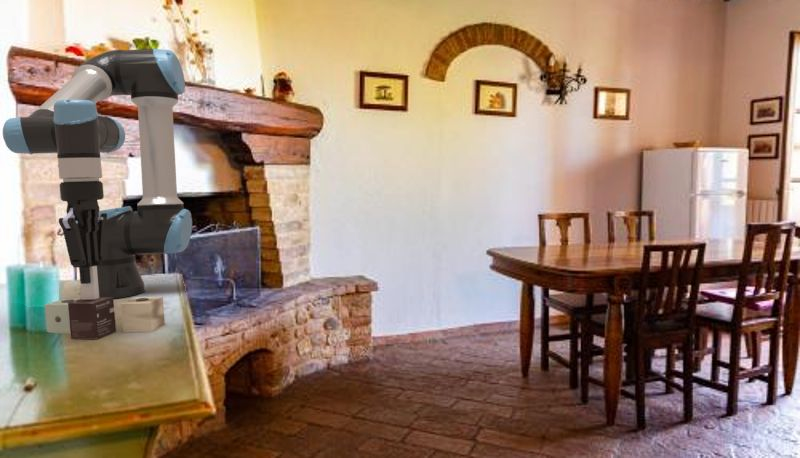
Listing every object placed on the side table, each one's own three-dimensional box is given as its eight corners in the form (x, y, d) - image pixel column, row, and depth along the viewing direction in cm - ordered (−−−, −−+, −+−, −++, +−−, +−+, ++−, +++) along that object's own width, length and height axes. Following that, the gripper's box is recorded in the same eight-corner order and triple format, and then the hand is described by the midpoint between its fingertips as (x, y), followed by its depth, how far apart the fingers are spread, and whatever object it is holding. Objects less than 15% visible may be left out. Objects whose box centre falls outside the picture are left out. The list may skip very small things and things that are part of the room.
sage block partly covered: (69, 325, 130) (66, 297, 130) (92, 326, 129) (90, 297, 128) (46, 333, 124) (43, 303, 124) (71, 334, 123) (68, 304, 122)
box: (96, 340, 118) (93, 303, 117) (69, 339, 119) (66, 302, 118) (117, 331, 124) (114, 296, 123) (91, 331, 125) (88, 296, 124)
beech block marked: (137, 324, 129) (135, 296, 128) (164, 324, 128) (162, 295, 128) (123, 332, 123) (120, 302, 122) (151, 332, 123) (149, 302, 122)
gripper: (81, 180, 125) (90, 292, 127) (41, 181, 112) (52, 306, 114) (117, 179, 124) (125, 291, 127) (80, 180, 111) (90, 305, 114)
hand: (90, 298), depth 120 cm, fingers closed
